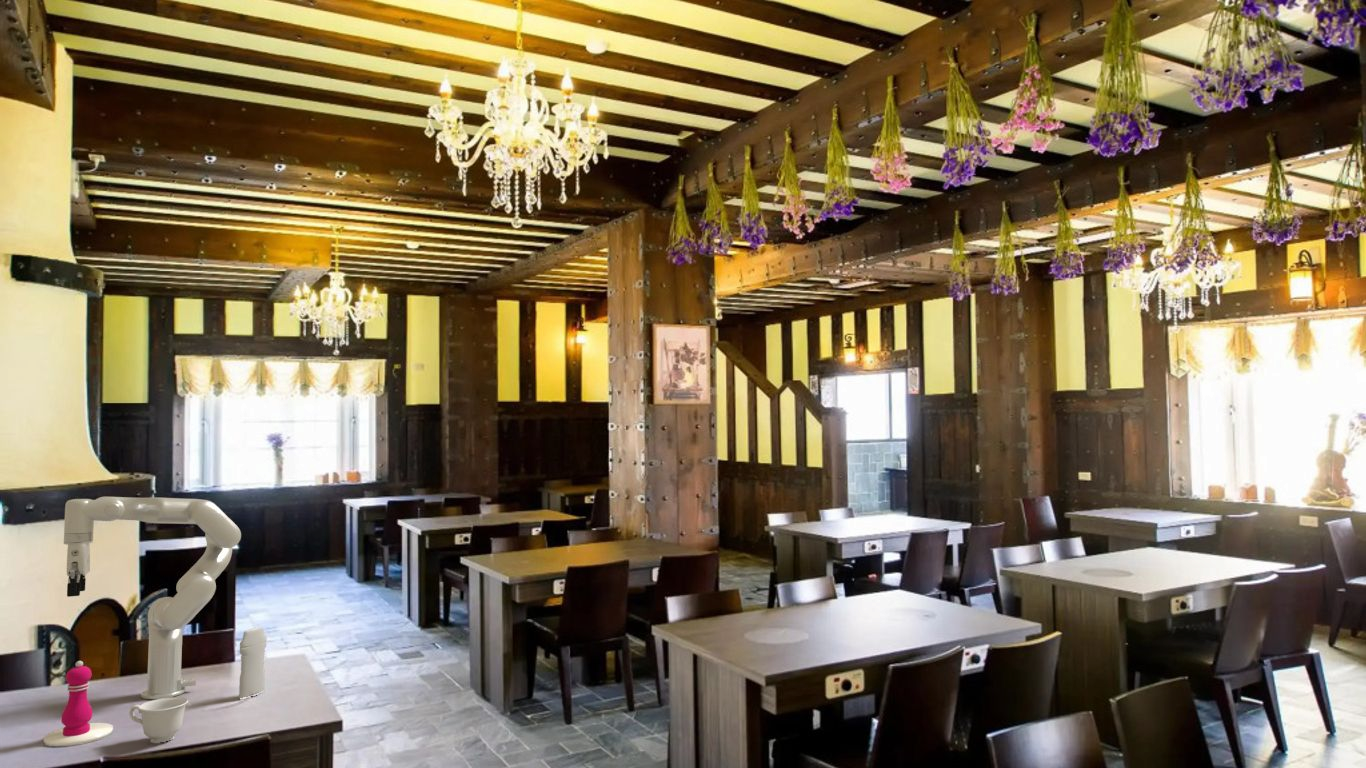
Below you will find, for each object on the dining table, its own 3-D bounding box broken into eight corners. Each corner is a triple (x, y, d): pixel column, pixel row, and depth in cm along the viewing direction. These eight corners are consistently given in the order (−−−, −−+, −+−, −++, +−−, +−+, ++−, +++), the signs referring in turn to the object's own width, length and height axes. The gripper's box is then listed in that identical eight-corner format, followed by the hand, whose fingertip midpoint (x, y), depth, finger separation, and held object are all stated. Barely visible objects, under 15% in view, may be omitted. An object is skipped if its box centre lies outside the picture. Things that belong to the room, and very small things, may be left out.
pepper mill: (75, 737, 235) (78, 664, 236) (53, 736, 236) (57, 663, 238) (98, 729, 242) (101, 658, 243) (77, 727, 244) (80, 657, 245)
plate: (116, 723, 250) (116, 719, 250) (108, 740, 236) (108, 736, 236) (50, 732, 243) (50, 728, 243) (37, 750, 229) (38, 746, 229)
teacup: (141, 733, 242) (142, 698, 242) (195, 731, 243) (196, 696, 244) (116, 748, 230) (117, 711, 230) (173, 746, 231) (174, 709, 232)
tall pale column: (243, 701, 272) (245, 631, 273) (233, 699, 273) (235, 630, 275) (269, 691, 282) (271, 624, 283) (259, 690, 283) (261, 624, 285)
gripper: (88, 540, 259) (86, 597, 258) (97, 535, 275) (94, 588, 273) (58, 542, 256) (56, 599, 255) (69, 536, 271) (66, 590, 270)
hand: (76, 593), depth 264 cm, fingers open, 9 cm apart
